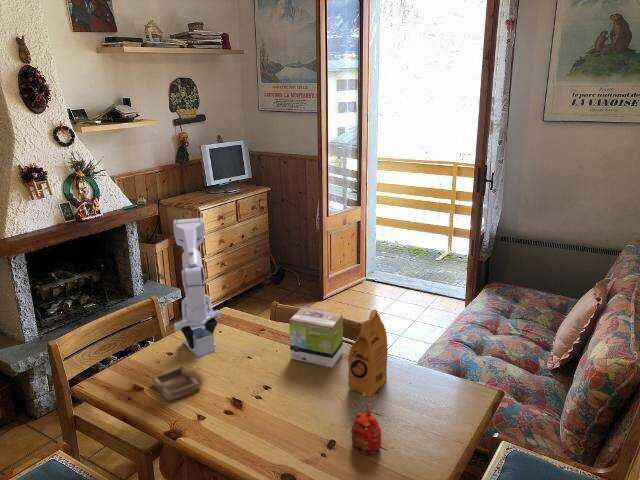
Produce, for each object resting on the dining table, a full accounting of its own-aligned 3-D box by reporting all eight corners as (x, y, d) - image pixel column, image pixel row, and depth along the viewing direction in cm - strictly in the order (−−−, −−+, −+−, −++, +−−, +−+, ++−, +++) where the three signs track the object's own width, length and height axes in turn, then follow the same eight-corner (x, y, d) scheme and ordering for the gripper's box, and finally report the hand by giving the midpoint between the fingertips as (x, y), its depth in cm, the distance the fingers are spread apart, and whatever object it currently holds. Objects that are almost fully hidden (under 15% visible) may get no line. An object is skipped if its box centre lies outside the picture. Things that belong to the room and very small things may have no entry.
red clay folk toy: (346, 449, 128) (346, 397, 124) (359, 433, 134) (359, 382, 129) (374, 461, 124) (375, 407, 120) (386, 443, 130) (387, 391, 125)
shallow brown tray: (153, 384, 157) (152, 377, 156) (182, 373, 163) (182, 366, 162) (169, 402, 148) (168, 395, 147) (200, 390, 154) (199, 383, 153)
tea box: (289, 360, 169) (287, 318, 165) (302, 345, 178) (300, 306, 173) (333, 368, 164) (332, 326, 159) (343, 353, 172) (343, 312, 168)
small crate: (187, 348, 165) (185, 330, 163) (203, 342, 168) (201, 325, 166) (198, 358, 159) (196, 340, 157) (215, 352, 162) (213, 334, 160)
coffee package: (342, 389, 153) (342, 321, 146) (362, 369, 163) (363, 305, 156) (372, 399, 148) (373, 329, 141) (391, 378, 158) (393, 312, 151)
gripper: (179, 315, 152) (183, 357, 156) (223, 302, 160) (227, 341, 164) (169, 307, 157) (174, 348, 161) (213, 295, 165) (216, 333, 170)
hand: (200, 344), depth 163 cm, fingers closed on small crate, 5 cm apart
